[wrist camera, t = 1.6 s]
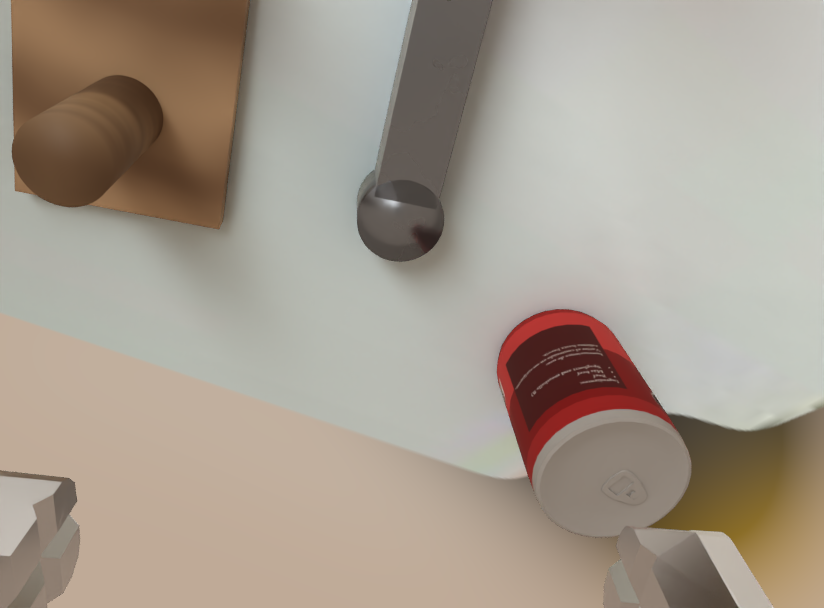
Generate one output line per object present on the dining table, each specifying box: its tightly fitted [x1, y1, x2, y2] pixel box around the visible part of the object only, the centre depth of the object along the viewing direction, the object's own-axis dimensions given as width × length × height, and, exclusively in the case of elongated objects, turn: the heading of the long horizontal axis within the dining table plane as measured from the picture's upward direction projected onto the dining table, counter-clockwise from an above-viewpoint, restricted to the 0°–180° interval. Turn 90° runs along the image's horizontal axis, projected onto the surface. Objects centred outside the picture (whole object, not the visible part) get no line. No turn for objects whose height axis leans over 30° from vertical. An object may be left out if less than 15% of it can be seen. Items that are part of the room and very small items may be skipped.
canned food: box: [497, 309, 691, 538], centre depth 38 cm, size 8×8×11 cm
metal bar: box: [357, 0, 493, 261], centre depth 33 cm, size 20×4×3 cm, turn 167°
